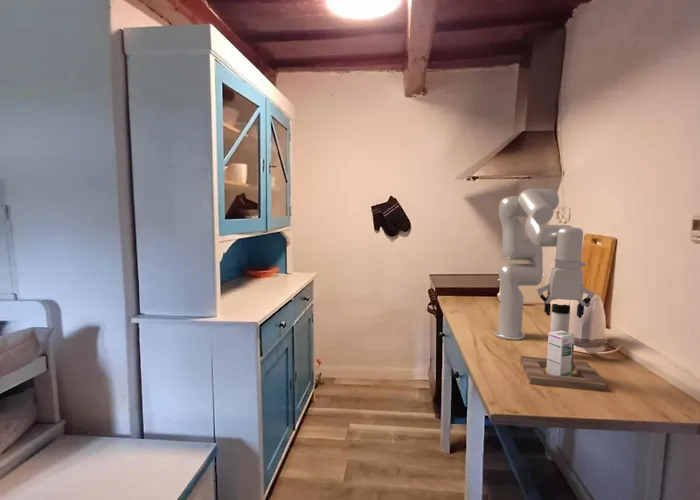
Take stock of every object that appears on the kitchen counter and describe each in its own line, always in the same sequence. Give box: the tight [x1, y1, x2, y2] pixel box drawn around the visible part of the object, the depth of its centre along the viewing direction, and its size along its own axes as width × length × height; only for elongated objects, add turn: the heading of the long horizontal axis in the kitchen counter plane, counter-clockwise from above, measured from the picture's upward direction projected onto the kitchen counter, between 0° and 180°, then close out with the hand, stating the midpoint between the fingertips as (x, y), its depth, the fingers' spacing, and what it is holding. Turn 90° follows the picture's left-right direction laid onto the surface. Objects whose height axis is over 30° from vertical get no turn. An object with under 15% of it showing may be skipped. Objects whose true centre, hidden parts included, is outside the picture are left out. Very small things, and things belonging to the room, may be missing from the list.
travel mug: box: [549, 303, 571, 333], centre depth 166 cm, size 6×7×20 cm
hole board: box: [520, 355, 607, 392], centre depth 147 cm, size 20×22×2 cm
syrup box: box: [546, 331, 575, 377], centre depth 147 cm, size 6×6×14 cm
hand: (563, 315), depth 145 cm, fingers open, 9 cm apart
